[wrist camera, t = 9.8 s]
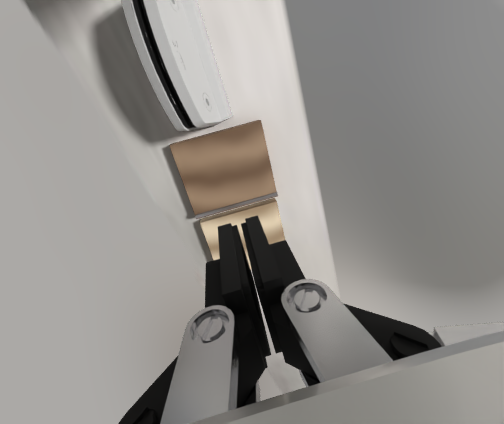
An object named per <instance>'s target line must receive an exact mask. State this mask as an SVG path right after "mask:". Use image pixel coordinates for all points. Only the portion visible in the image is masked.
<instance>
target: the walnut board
mask: <svg viewBox="0 0 504 424" xmlns="http://www.w3.org/2000/svg"><path fill="white" fill-rule="evenodd" d="M170 149H171V151H172V154H173V157H174V159H175V162H176V165H177V168H178V170H179V173H180V176H181V178H182V181H183V184H184V186H185V189H186V192H187V195H188V197H189V200H190V203H191V205H192V208H193V211H194V213H195V218H196V219H199V218H202V217H206V216H209V215H213V214H216V213H220V212H224V211H227V210H231V209H234V208H238V207H241V206H245V205H248V204H252V203H255V202H259V201H262V200H266V199H270V198H273V197H277V196H278V194H277V192H276V187H275V183H274V178H273V173H272V169H271V164H270V160H269V155H268V150H267V146H266V141H265V137H264V132H263V128H262V123H261V120H257V121H253V122H250V123H246V124H242V125H239V126H235V127H231V128H228V129H224V130H220V131H217V132H213V133H209V134H206V135H202V136H198V137H195V138H191V139H187V140H184V141H180V142H176V143H173V144H170Z"/></svg>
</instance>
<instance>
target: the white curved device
mask: <svg viewBox="0 0 504 424" xmlns="http://www.w3.org/2000/svg"><path fill="white" fill-rule="evenodd" d="M121 2H122V6H123V10H124V14H125V17H126V20H127V23H128V27H129V30H130V33H131V36H132V39H133V42H134V45H135V47H136V50H137V52H138V55H139V58H140V60H141V63H142V65H143V67H144V70H145V72H146V74H147V77H148V79H149V81H150V83H151V85H152V87H153V89H154V91H155V93H156V96H157V98H158V100H159V101H160V103H161V105H162V107H163V109H164V111H165V112H166V114H167V116H168V117H169V119H170V121H171V122H172V124H173V126H174V127H175V129H176V130H178V131H191V130H196V129H202V128H208V126H213V125H217V124H219V123H221V122H223V121H225V120H227V119H229V118H230V117H232V116H233V114H232V110H231V107H230V104H229V101H228V97H227V94H226V91H225V88H224V85H223V81H222V78H221V75H220V72H219V68H218V65H217V62H216V59H215V55H214V52H213V49H212V46H211V42H210V39H209V36H208V33H207V30H206V26H205V23H204V20H203V17H202V13H201V10H200V7H199V4H198V0H121Z"/></svg>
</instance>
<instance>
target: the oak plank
mask: <svg viewBox="0 0 504 424" xmlns="http://www.w3.org/2000/svg"><path fill="white" fill-rule="evenodd" d="M257 215H258V217H259V220H260V222H261V225H262V227H263V230H264V233H265V235H266V238H267V240H268V243H269V244H273V243H276V242H280V241H283V240H285V237H284V232H283V228H282V223H281V219H280V214H279V210H278V205H277V201H276V200H275V198H273V199H270V200H266V201H263V202H259V203H256V204H252V205H249V206H245V207H242V208H238V209H234V210H231V211H227V212H224V213H220V214H217V215H213V216H210V217H206V218H203V219H200V224H201V227H202V230H203V232H204V235H205V238H206V240H207V243H208V246H209V249H210V251H211V254H212V257H213V260H217V259H220V256H219V240H218V226H222V225H225V224H229V223H231V225H232V226H234V225H237V227H238V230H239V233H240V237H241V240H242V243H243V247H244V250H245V253H246V257H247V260H248V263H249V267H250V269H251V264H250V260H249V256H248V252H247V248H246V243H245V239H244V235H243V231H242V227H241V223H245V222H246V221H245V219H246V218H250V217H253V216H257Z"/></svg>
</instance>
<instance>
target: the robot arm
mask: <svg viewBox="0 0 504 424" xmlns="http://www.w3.org/2000/svg"><path fill="white" fill-rule="evenodd" d="M245 221H246V222H245V223H241V227H242V231H243V235H244V239H245V243H246V248H247V252H248V256H249V260H250V264H251V269H252V273H253V276H252V273H251V270H250V267H249V263H248V260H247V257H246V253H245V250H244V247H243V243H242V240H241V237H240V233H239V230H238V227H237V225H234V226H232V225H231V223H229V224H225V225H222V226H218V240H219V256H220V259H217V260H213V261H210V262H207V263H206V286H205V309H203V310H201V311H199V312H198V313H197V314H195V315H194V316H193V317H192V318H191V320H190V321H189V322H188V324H187V327H186V329H185V332H184V336H183V340H182V344H181V347H180V351H179V355H178V356H177V357H176V359H175V360H174V361H173V362H172V363H171V364H170V365H169V366H168V367H167V369H166V370H165V371H164V372H163V373H162V374H161V375H160V376H159V377H158V378H157V380H156V381H155V382H154V383H153V384H152V385H151V386H150V387H149V388H148V390H147V391H146V392H145V393H144V394H143V395H142V396H141V397H140V398H139V399H138V401H137V402H136V403H135V404H134V405H133V406H132V407H131V408H130V409H129V410H128V412H127V413H126V414H125V416H124V417H123V418H122V419H121V421H120V422H119V424H504V322H497V323H484V324H470V325H457V326H444V327H434V332H426V331H425V330H423V329H420V328H418V327H416V326H413V325H410V324H407V323H404V322H401V321H397V320H394V319H391V318H388V317H385V316H381V315H378V314H375V313H372V312H368V311H365V310H362V309H359V308H356V307H353V306H349V305H346V304H343V303H342V302H341V301H340V299H339V298H338V297H337V296H336V295H335V294H334V293H333V291H332V290H331V289H330V288H329V287H328V286H327V285H325V284H324V283H323V282H320V281H318V280H313V279H305V277H304V275H303V273H302V271H301V269H300V267H299V265H298V263H297V261H296V259H295V257H294V255H293V253H292V252H291V250H290V248H289V246H288V244H287V242H286V240H283V241H280V242H276V243H273V244H269V243H268V240H267V238H266V235H265V233H264V230H263V227H262V225H261V222H260V220H259V217H258V215H257V216H253V217H250V218H246V219H245ZM253 277H254V280H253ZM254 281H255V284H254ZM255 285H256V288H257V292H258V295H259V299H260V302H261V305H262V309H263V312H264V315H265V319H266V322H267V325H268V328H269V332H270V335H271V338H272V342H273V345H274V348H275V352H276V353H279V352H283V356H284V359H285V362H286V363H288V364H290V365H292V366H293V367H295V368H297V369H299V372H300V375H301V378H302V380H303V382H304V384H305V386H306V388H302V389H299V390H296V391H293V392H289V393H286V394H283V395H280V396H276V397H273V398H270V399H266V400H263V401H260V387H259V381H258V379H259V378H260V376H261V374H262V373H263V371H264V370H265V368H267V362H266V358H265V357H266V356H269V355H271V352H270V348H269V344H268V339H267V335H266V331H265V326H264V322H263V318H262V314H261V309H260V305H259V301H258V297H257V292H256V288H255Z"/></svg>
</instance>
